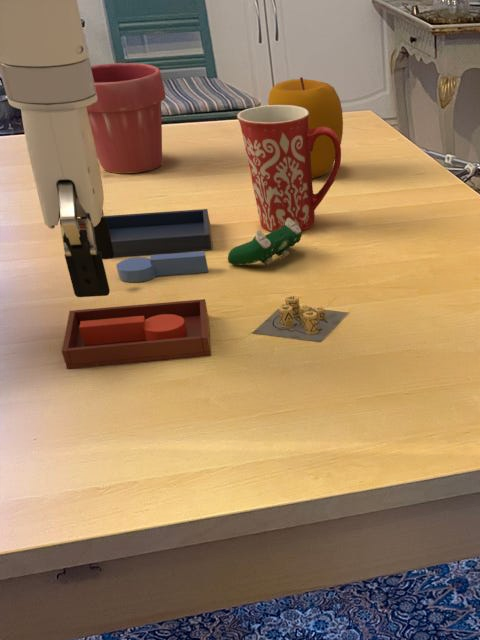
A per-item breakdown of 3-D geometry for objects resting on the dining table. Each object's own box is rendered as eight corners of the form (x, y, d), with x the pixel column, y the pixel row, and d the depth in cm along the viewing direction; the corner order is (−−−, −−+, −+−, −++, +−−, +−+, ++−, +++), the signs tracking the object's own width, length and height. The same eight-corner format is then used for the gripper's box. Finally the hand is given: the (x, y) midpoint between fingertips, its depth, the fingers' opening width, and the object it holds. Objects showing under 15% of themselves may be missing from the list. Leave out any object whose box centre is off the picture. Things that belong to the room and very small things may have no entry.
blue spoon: (207, 263, 116) (204, 246, 115) (208, 276, 113) (205, 259, 111) (120, 270, 114) (115, 253, 113) (118, 283, 111) (114, 266, 109)
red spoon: (83, 351, 96) (78, 332, 95) (86, 333, 100) (81, 315, 98) (187, 341, 98) (183, 323, 97) (186, 324, 101) (183, 306, 100)
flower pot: (73, 161, 148) (49, 68, 139) (160, 148, 154) (142, 58, 145) (100, 184, 139) (76, 86, 130) (191, 169, 145) (174, 75, 136)
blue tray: (95, 258, 117) (91, 243, 116) (100, 231, 124) (96, 216, 123) (212, 249, 119) (209, 234, 118) (209, 223, 127) (207, 208, 125)
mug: (246, 235, 123) (229, 121, 114) (260, 212, 130) (245, 103, 121) (342, 237, 123) (332, 123, 114) (351, 214, 130) (342, 105, 121)
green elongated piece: (242, 284, 116) (264, 256, 111) (222, 257, 115) (243, 228, 110) (291, 261, 121) (313, 233, 117) (272, 235, 121) (294, 207, 116)
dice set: (315, 335, 101) (313, 317, 99) (272, 329, 102) (269, 311, 100) (333, 316, 104) (331, 299, 103) (291, 311, 105) (289, 294, 104)
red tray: (66, 369, 94) (61, 351, 93) (74, 327, 102) (69, 310, 100) (210, 355, 97) (207, 337, 96) (208, 315, 104) (205, 298, 103)
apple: (362, 173, 144) (355, 77, 136) (306, 188, 138) (296, 89, 130) (316, 159, 150) (307, 66, 141) (261, 173, 144) (248, 77, 135)
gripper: (15, 61, 88) (63, 247, 100) (-10, 108, 76) (48, 313, 87) (99, 61, 90) (137, 243, 101) (87, 106, 77) (132, 308, 89)
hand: (96, 276), depth 94 cm, fingers open, 9 cm apart
